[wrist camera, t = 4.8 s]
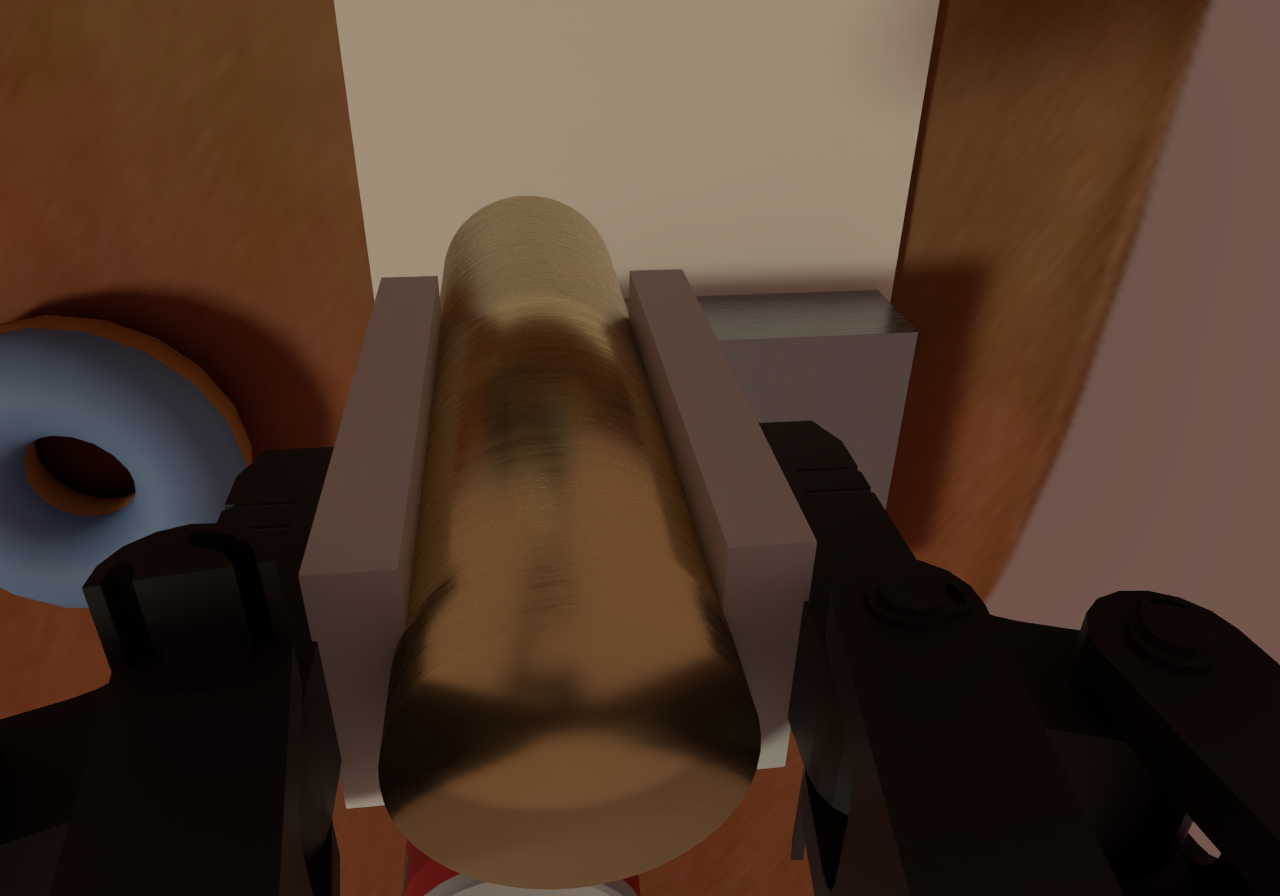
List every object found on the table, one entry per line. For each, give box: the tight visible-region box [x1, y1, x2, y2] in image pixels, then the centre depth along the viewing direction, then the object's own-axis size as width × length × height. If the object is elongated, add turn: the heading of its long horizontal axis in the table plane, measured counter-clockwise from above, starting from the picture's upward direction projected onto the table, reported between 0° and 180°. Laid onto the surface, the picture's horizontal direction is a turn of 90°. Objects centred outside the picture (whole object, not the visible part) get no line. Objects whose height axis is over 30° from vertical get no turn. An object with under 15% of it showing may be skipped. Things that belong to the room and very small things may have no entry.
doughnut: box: [0, 315, 253, 608], centre depth 30 cm, size 10×10×5 cm
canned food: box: [402, 839, 640, 896], centre depth 35 cm, size 8×8×11 cm
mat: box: [334, 0, 940, 302], centre depth 31 cm, size 26×17×1 cm, turn 179°
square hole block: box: [624, 290, 918, 510], centre depth 33 cm, size 12×12×4 cm
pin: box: [378, 196, 761, 890], centre depth 12 cm, size 3×3×11 cm
